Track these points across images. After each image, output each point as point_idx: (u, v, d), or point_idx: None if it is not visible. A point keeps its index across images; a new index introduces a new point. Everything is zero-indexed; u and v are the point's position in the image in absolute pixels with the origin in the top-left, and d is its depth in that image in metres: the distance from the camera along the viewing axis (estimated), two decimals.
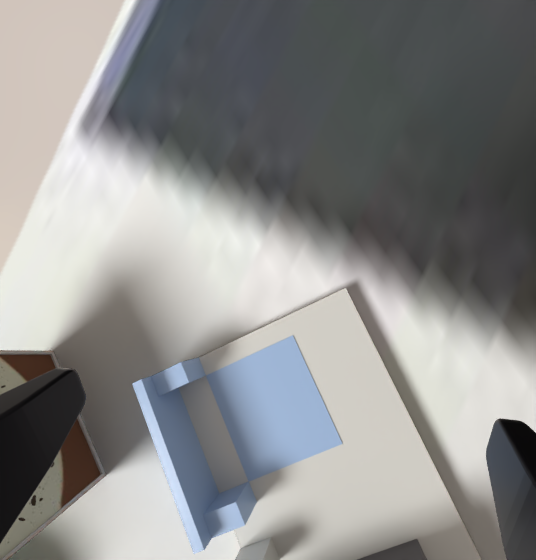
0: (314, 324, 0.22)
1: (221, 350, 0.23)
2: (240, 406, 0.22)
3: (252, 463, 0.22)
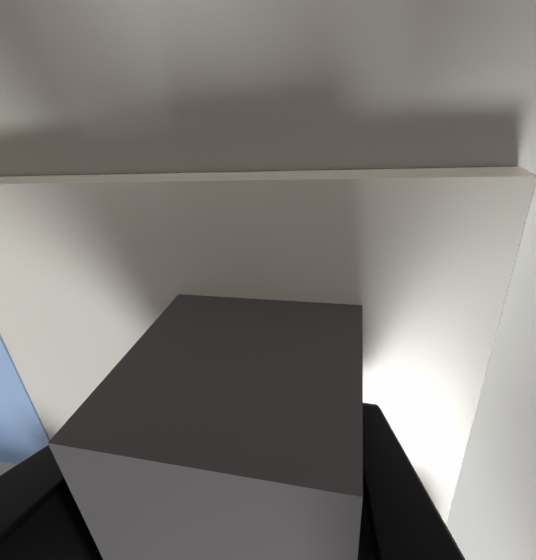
0: None
1: None
2: None
3: None
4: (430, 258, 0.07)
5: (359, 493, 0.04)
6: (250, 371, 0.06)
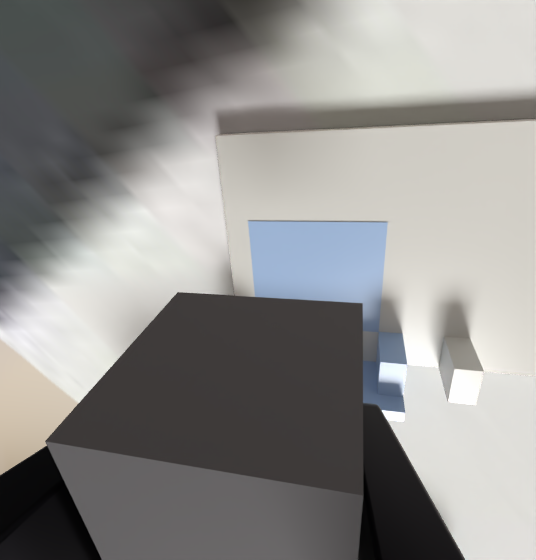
0: (244, 192, 0.18)
1: None
2: None
3: None
4: None
5: (360, 492, 0.04)
6: (250, 369, 0.06)
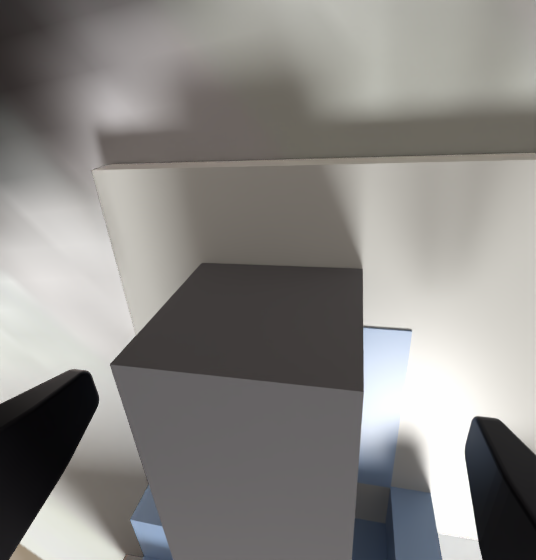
0: (155, 267, 0.10)
1: None
2: None
3: (363, 470, 0.12)
4: None
5: (361, 390, 0.05)
6: (269, 315, 0.07)
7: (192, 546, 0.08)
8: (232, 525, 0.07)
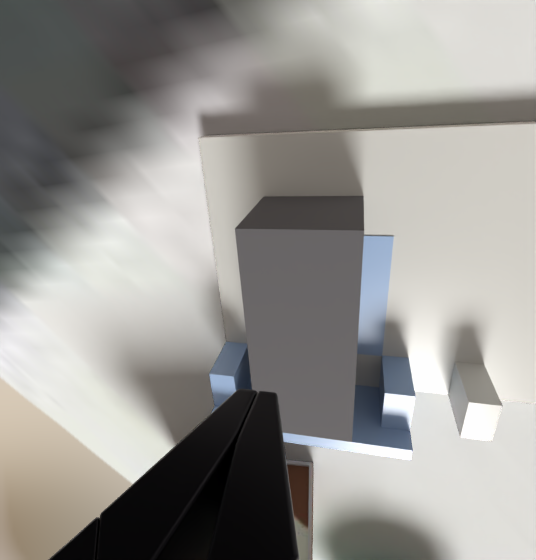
0: (232, 201, 0.16)
1: (226, 317, 0.19)
2: None
3: (364, 343, 0.17)
4: None
5: (362, 230, 0.11)
6: (312, 212, 0.13)
7: (263, 355, 0.14)
8: (290, 333, 0.13)
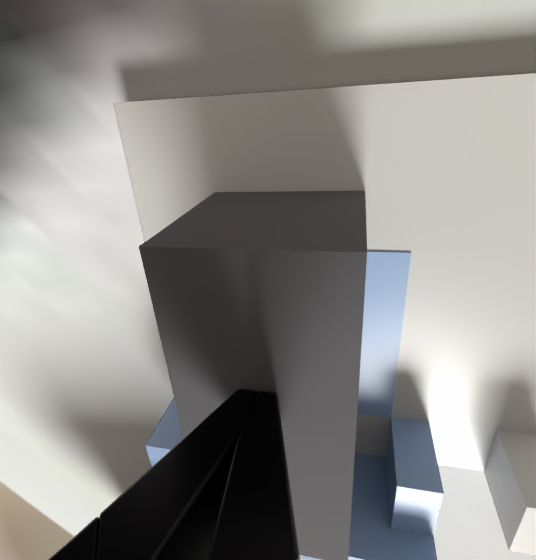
0: (170, 199, 0.11)
1: None
2: None
3: (365, 400, 0.12)
4: None
5: (364, 252, 0.06)
6: (280, 217, 0.08)
7: None
8: None
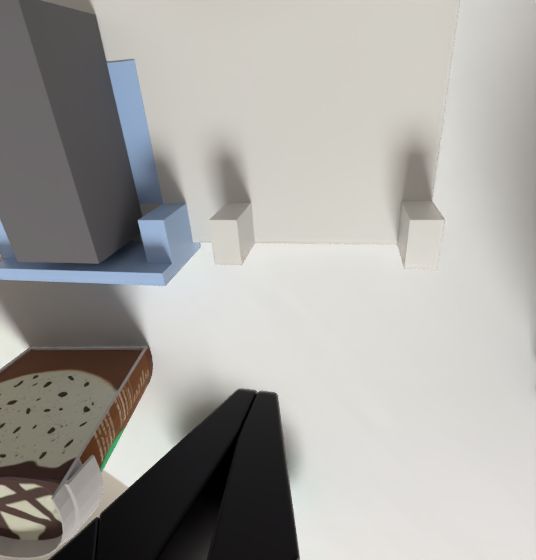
0: None
1: None
2: None
3: (143, 190, 0.18)
4: None
5: None
6: None
7: None
8: (2, 134, 0.13)
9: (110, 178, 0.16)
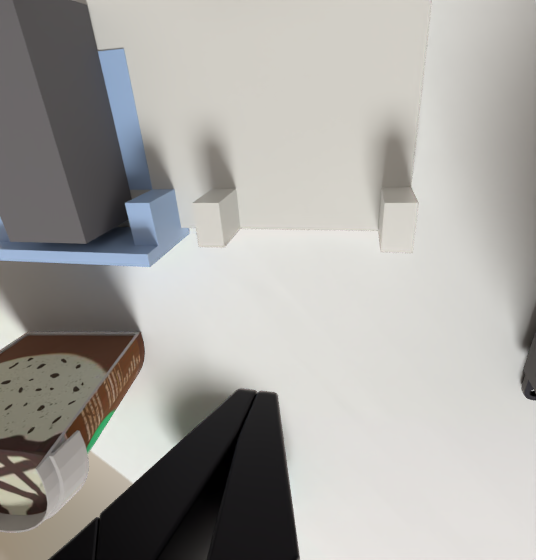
0: None
1: None
2: None
3: (133, 176, 0.18)
4: None
5: None
6: None
7: None
8: None
9: (99, 162, 0.16)
